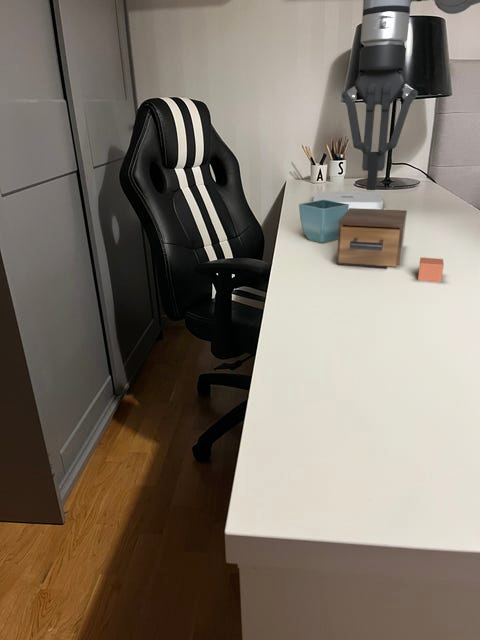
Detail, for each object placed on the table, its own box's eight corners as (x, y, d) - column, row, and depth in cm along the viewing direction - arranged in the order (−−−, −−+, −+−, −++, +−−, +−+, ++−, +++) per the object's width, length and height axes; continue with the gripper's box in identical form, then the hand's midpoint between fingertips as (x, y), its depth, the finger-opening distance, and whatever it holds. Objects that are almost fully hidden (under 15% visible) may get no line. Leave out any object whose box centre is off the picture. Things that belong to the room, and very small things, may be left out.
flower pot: (322, 246, 118) (323, 208, 115) (296, 239, 125) (297, 203, 121) (347, 240, 123) (350, 204, 119) (322, 234, 130) (323, 199, 126)
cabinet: (399, 268, 101) (404, 224, 98) (336, 264, 105) (339, 221, 102) (402, 250, 114) (406, 210, 110) (346, 246, 118) (349, 208, 114)
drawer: (394, 274, 95) (398, 237, 92) (334, 270, 98) (336, 233, 96) (399, 249, 111) (403, 216, 108) (347, 246, 115) (349, 214, 112)
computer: (312, 210, 159) (312, 201, 158) (315, 198, 179) (315, 191, 178) (383, 211, 156) (384, 202, 155) (378, 199, 176) (379, 191, 175)
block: (440, 279, 95) (443, 258, 93) (440, 285, 91) (443, 264, 90) (417, 277, 96) (420, 257, 94) (417, 284, 93) (420, 263, 91)
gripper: (340, 45, 83) (333, 191, 92) (424, 40, 79) (407, 193, 88) (347, 49, 89) (339, 185, 98) (424, 45, 85) (408, 187, 94)
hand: (371, 188), depth 93 cm, fingers closed
